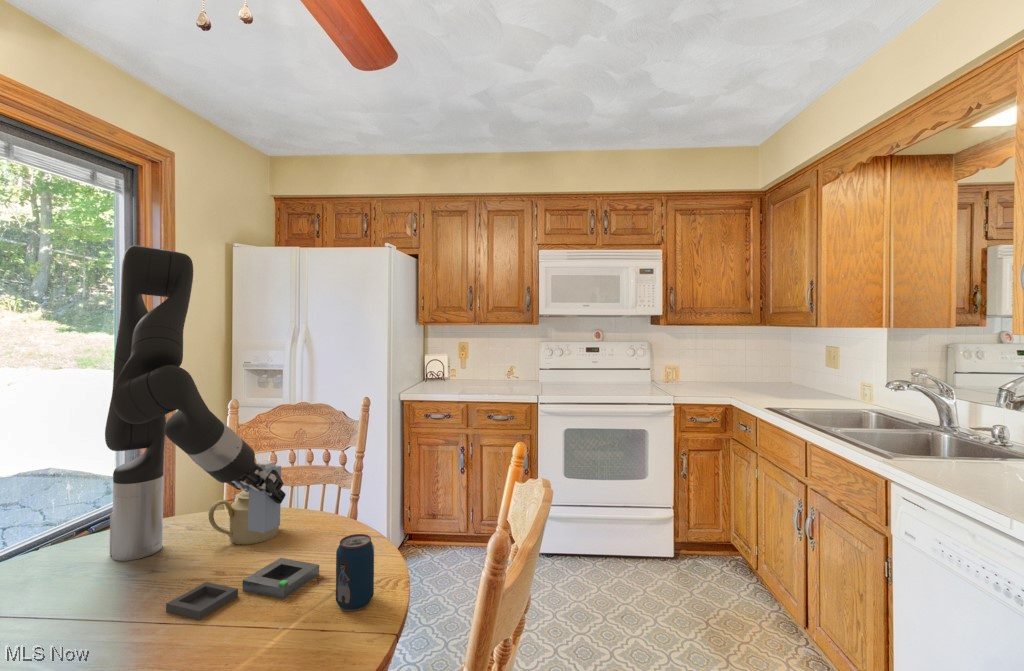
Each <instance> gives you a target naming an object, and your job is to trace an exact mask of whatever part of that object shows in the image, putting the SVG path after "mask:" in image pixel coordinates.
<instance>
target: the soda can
mask: <svg viewBox="0 0 1024 671" xmlns="http://www.w3.org/2000/svg"><path fill="white" fill-rule="evenodd" d="M335 553H336V555H335V556H336V557H335V558H336V559H335V602H336V603H337V605H338V607H339V608H340V609H341V610H342V611H345V612H356V611H359V610H362V609H364V608H366V607H367V606H368V605H369V604H370V602H371V601H372V599H373V597H374V594H375V592H374V591H375V588H374V587H375V578H374V576H375V546H374V544H373V541H372V538H371V536H370V535H368V534H364V533H357V534H350V535H347V536H345V537H342V538H341V539H340V540H339V545H338V547H337V549H336V551H335Z"/></svg>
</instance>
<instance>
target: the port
mask: <svg viewBox="0 0 1024 671" xmlns="http://www.w3.org/2000/svg"><path fill="white" fill-rule="evenodd" d="M319 575H320V564H316V563H311V562H306V561H300V560H295V559H291V558H284V557H280V558H278V559H276V560H274V561H273V562H271V563H269V564H268V565H266V566H264V567H262V568H261V569H259V570H257V571H255V572H254V573H252V574H251V575H248V577H246V578H244V579H242V583H241V584H242V585H241V586H242V589H241V590H242V591H243V592H247V593H252V594H256V595H257V594H258V595H260V596H261V595H262V596H266V597H271V598H275V599H281V600H285V599H287V598H288V597H290V595H292V594H294V593H295V592H297V591H298V590H299V589H301V588H302V587H304V586H305V585H307V584H308V583H309V582H310V581H312V580H313V579H315V578H316V577H318V576H319Z"/></svg>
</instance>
